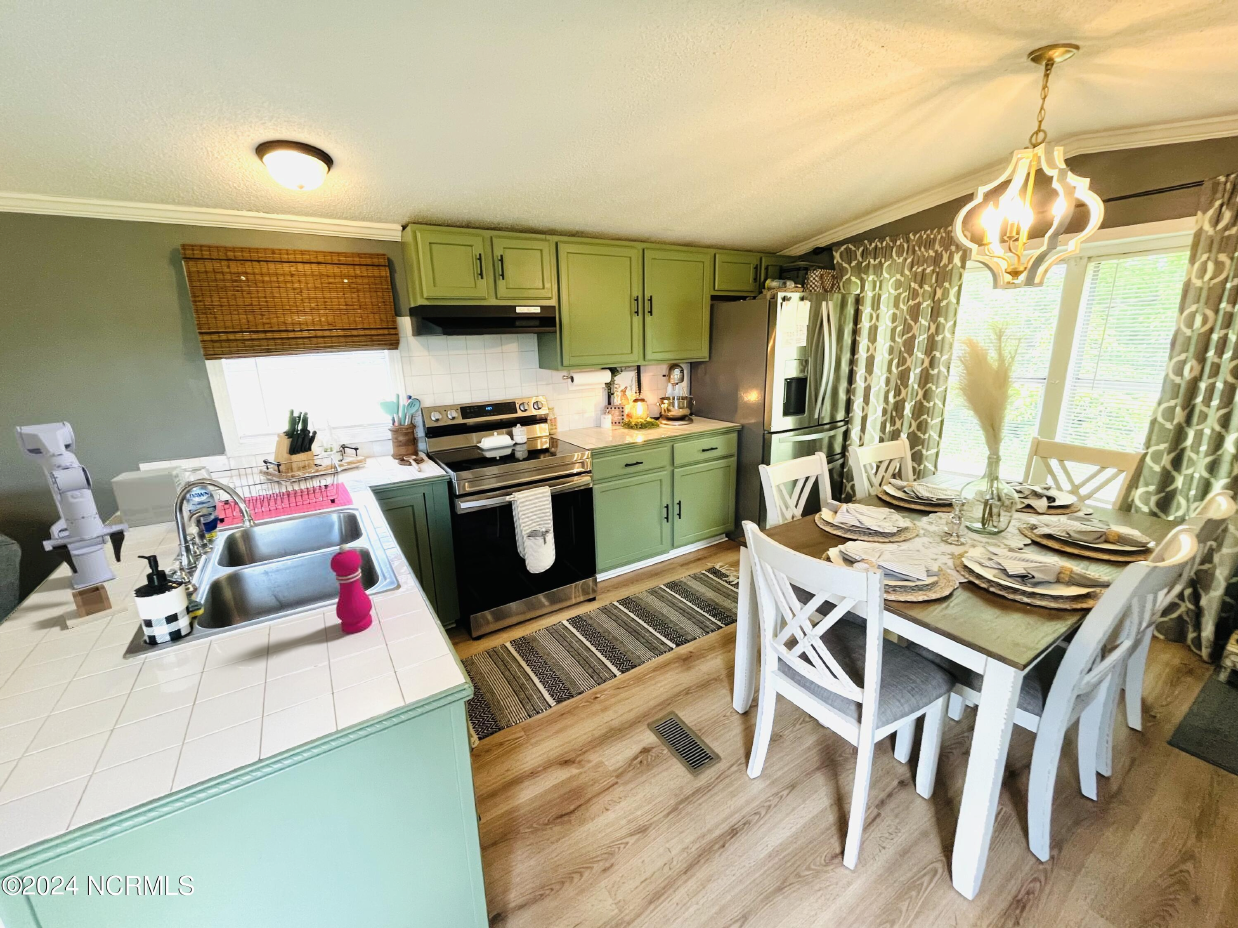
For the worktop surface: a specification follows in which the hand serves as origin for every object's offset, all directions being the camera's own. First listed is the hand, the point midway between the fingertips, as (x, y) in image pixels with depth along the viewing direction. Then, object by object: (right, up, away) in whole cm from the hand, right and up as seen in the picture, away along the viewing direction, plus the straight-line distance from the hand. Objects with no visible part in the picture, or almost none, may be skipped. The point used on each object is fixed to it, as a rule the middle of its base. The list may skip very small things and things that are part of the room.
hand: (97, 566), depth 125 cm
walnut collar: (+4, -10, -4) cm, 11 cm away
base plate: (+4, -11, -4) cm, 12 cm away
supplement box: (-40, +5, +60) cm, 72 cm away
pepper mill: (+72, -11, -12) cm, 74 cm away
